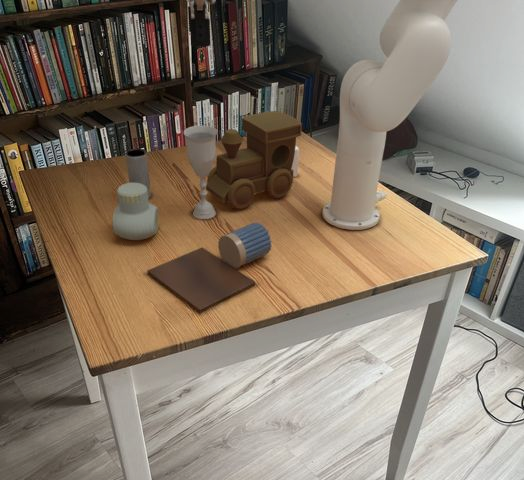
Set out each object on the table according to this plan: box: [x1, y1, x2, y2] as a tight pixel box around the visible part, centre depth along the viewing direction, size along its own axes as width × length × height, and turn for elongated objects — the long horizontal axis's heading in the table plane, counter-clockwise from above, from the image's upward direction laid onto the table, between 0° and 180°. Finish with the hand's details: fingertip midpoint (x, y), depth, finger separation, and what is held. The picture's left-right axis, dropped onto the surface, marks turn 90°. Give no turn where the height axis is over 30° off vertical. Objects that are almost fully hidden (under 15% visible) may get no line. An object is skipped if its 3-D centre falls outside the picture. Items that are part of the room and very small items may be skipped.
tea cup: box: [217, 222, 272, 270], centre depth 109 cm, size 8×7×7 cm
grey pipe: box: [125, 148, 152, 199], centre depth 127 cm, size 4×4×10 cm
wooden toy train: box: [205, 110, 303, 210], centre depth 127 cm, size 20×11×17 cm, turn 124°
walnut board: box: [147, 247, 256, 314], centre depth 105 cm, size 13×16×1 cm
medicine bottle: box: [291, 145, 300, 178], centre depth 138 cm, size 7×7×12 cm
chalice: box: [183, 124, 219, 220], centre depth 119 cm, size 7×7×18 cm
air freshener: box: [112, 182, 160, 241], centre depth 114 cm, size 11×8×10 cm
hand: (199, 38), depth 97 cm, fingers open, 9 cm apart
